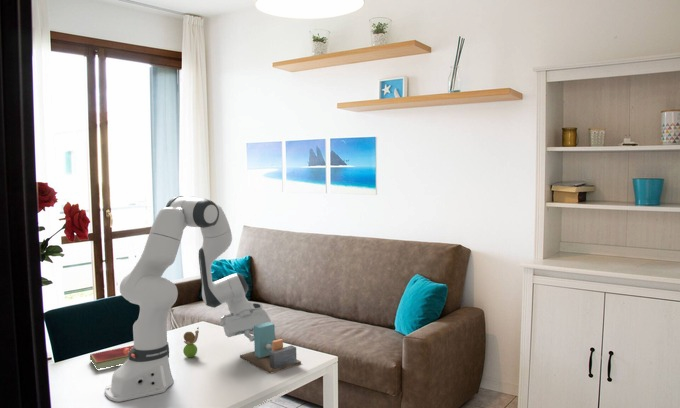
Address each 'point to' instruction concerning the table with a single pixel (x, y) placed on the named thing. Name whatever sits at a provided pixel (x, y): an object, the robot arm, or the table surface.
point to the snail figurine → (190, 343)
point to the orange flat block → (277, 344)
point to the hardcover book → (109, 357)
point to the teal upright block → (263, 339)
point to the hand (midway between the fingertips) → (254, 340)
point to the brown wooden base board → (264, 362)
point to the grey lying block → (283, 357)
